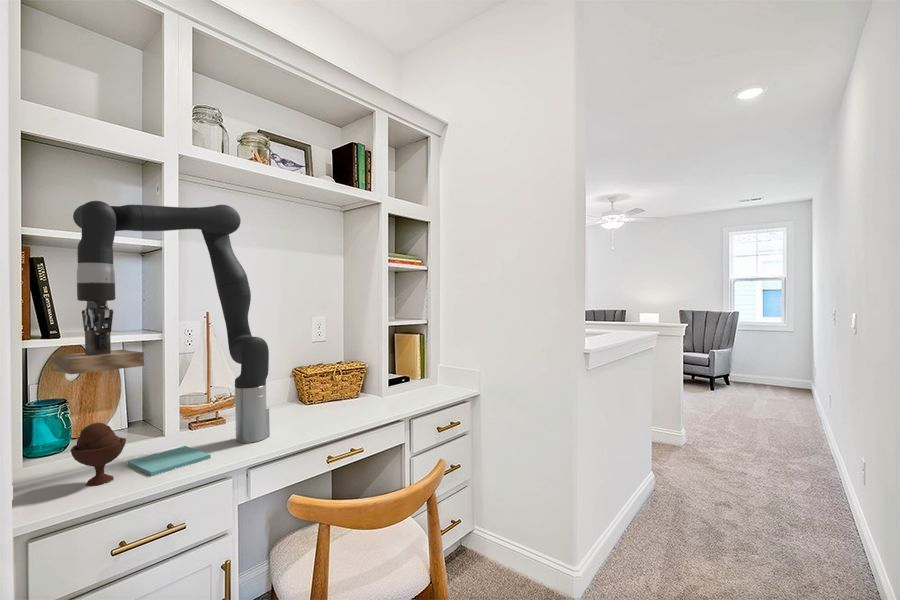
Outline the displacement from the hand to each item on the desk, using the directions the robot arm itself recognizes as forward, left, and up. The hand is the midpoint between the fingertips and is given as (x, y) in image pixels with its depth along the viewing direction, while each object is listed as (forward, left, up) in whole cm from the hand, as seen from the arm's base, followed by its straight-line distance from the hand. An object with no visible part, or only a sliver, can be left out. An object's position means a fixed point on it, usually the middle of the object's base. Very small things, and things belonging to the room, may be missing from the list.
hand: (97, 349), depth 111 cm
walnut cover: (0, 0, -5) cm, 5 cm away
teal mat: (-16, 0, -33) cm, 37 cm away
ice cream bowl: (0, 0, -33) cm, 33 cm away
